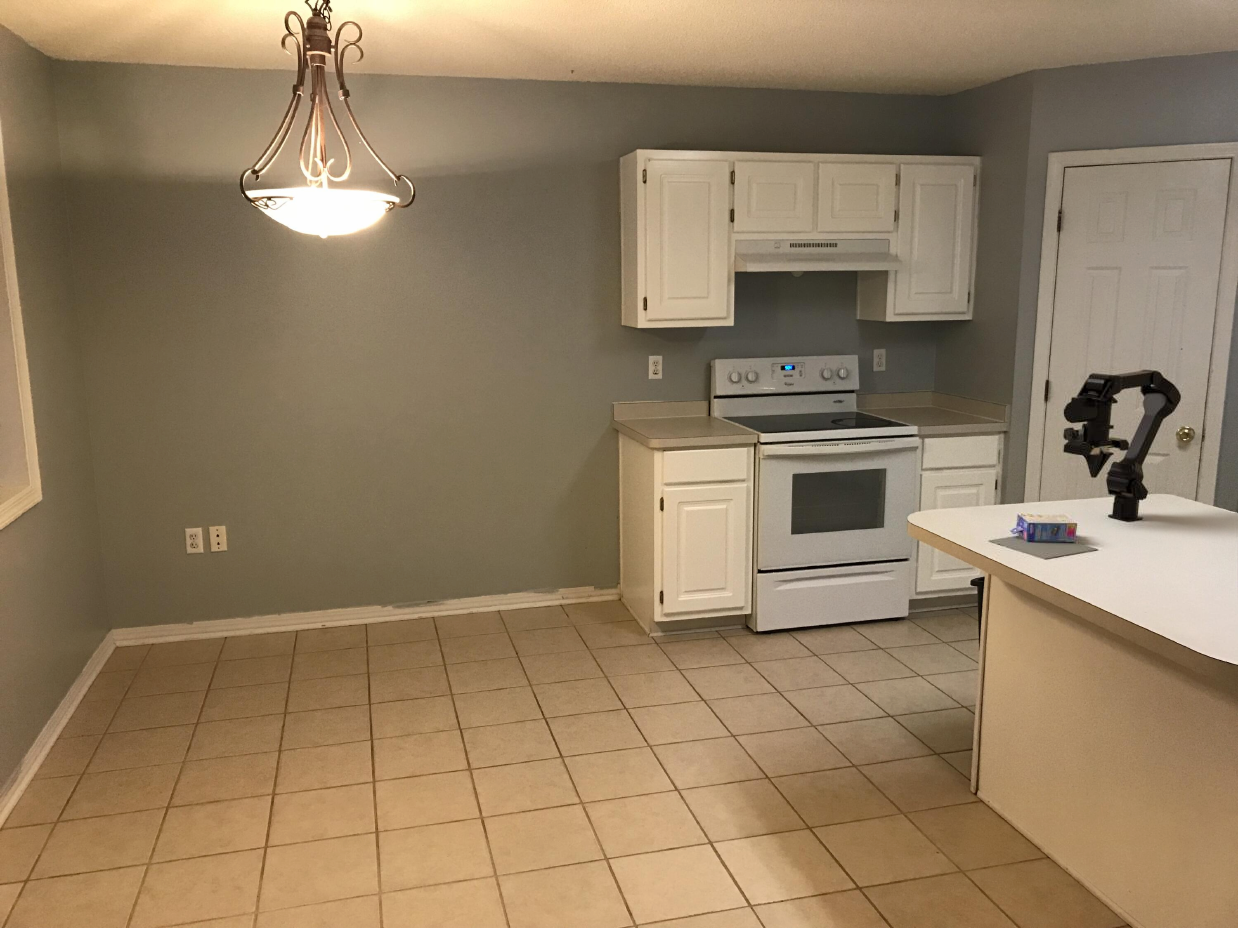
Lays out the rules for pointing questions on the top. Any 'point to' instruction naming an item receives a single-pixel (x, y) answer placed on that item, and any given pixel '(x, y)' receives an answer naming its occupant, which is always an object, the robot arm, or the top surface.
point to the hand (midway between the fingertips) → (1093, 477)
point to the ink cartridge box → (1046, 528)
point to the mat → (1043, 547)
